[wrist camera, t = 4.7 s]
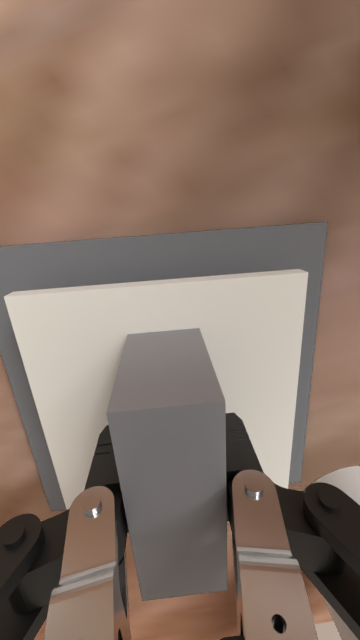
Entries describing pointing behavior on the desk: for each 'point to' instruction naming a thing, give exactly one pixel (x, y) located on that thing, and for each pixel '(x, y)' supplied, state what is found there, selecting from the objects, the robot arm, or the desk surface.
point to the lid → (166, 401)
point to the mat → (159, 264)
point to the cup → (356, 485)
